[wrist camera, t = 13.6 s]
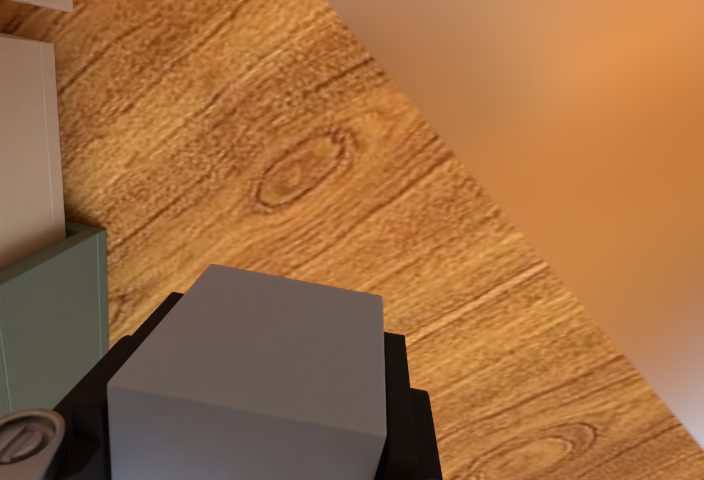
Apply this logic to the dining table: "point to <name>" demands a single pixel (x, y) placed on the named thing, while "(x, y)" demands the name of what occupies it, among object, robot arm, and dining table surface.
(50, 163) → the drawer
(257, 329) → the block
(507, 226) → the dining table surface
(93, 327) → the cabinet
